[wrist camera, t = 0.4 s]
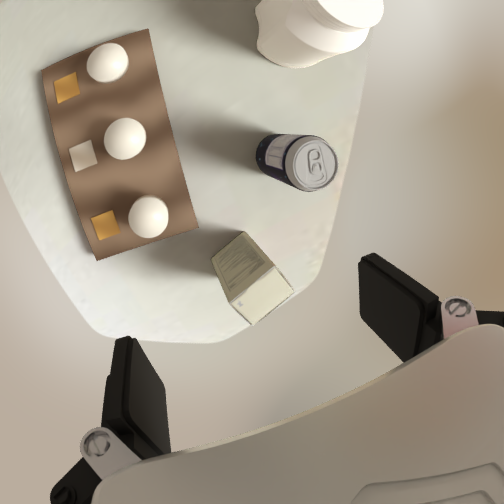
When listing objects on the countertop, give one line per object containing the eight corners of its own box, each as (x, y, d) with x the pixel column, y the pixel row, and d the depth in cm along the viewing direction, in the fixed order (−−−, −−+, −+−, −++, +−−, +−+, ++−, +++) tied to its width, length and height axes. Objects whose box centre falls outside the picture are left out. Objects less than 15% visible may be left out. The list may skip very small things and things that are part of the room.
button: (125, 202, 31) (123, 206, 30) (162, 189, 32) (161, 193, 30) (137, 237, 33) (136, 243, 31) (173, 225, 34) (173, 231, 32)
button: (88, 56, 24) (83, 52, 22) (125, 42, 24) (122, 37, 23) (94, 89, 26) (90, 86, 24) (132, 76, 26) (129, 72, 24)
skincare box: (228, 279, 43) (250, 329, 32) (209, 258, 41) (225, 305, 30) (264, 250, 43) (297, 292, 32) (246, 228, 41) (275, 265, 30)
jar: (253, -6, 28) (296, -61, 15) (319, 3, 30) (380, -36, 17) (257, 66, 33) (306, 33, 19) (324, 71, 35) (395, 52, 21)
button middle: (103, 126, 28) (99, 126, 26) (141, 113, 28) (139, 112, 26) (113, 163, 29) (110, 165, 28) (150, 150, 30) (149, 151, 28)
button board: (47, 72, 26) (40, 70, 24) (149, 33, 28) (148, 27, 26) (99, 255, 37) (96, 261, 35) (197, 223, 39) (198, 228, 37)
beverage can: (257, 179, 39) (292, 198, 28) (251, 137, 36) (285, 139, 25) (297, 172, 40) (343, 189, 29) (292, 131, 37) (339, 133, 27)
